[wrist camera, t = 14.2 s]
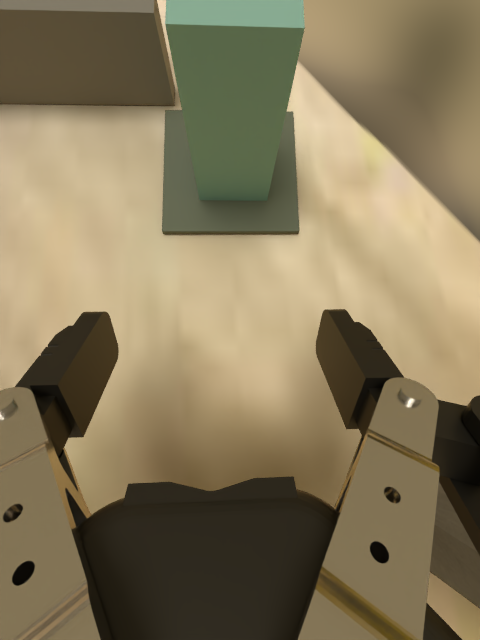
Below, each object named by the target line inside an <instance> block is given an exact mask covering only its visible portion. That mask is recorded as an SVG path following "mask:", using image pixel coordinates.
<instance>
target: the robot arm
mask: <svg viewBox="0 0 480 640" xmlns="http://www.w3.org/2000/svg"><path fill="white" fill-rule="evenodd" d="M316 354H317V358H318V360H319V363H320V365H321V367H322V370H323V372H324V375H325V377H326V380H327V382H328V385H329V387H330V390H331V392H332V395H333V397H334V400H335V402H336V404H337V407H338V409H339V412H340V414H341V417H342V419H343V422H344V424H345V427H346V429H359V430H360V432H361V434H362V436H361V439H360V441H359V444H358V447H357V449H356V452H355V455H354V457H353V460H352V463H351V465H350V468H349V471H348V474H347V476H346V479H345V482H344V484H343V487H342V490H341V492H340V495H339V497H338V500H337V502H336V505H335V507H334V508H333V507H332V506H330V505H329V504H327V503H326V502H324V501H323V500H321V499H319V498H317V497H315V496H313V495H311V494H309V493H306V492H303V491H300V490H296V486H295V481H294V477H274V478H254V479H250V480H247V481H244V482H241V483H238V484H235V485H232V486H229V487H226V488H223V489H220V490H217V491H205V490H201V489H197V488H193V487H189V486H184V485H180V484H176V483H172V482H159V483H135V484H128V487H127V491H126V495H125V498H122V499H120V500H117V501H115V502H113V503H111V504H109V505H107V506H105V507H103V508H102V509H100V510H98V511H97V512H95V513H94V514H93V515H91V513H90V511H89V509H88V507H87V505H86V503H85V500H84V498H83V495H82V493H81V490H80V487H79V485H78V482H77V479H76V476H75V474H74V471H73V468H72V465H71V463H70V460H69V457H68V455H67V452H66V450H65V448H64V446H65V444H66V442H67V440H68V438H71V437H84V434H85V432H86V430H87V428H88V425H89V423H90V421H91V419H92V416H93V414H94V412H95V409H96V407H97V405H98V403H99V400H100V398H101V396H102V394H103V391H104V389H105V387H106V385H107V382H108V380H109V378H110V375H111V373H112V371H113V369H114V366H115V364H116V362H117V359H118V343H117V340H116V337H115V333H114V330H113V326H112V323H111V319H110V316H109V314H108V313H107V312H83V313H82V314H81V316H80V317H79V318H78V320H77V321H76V322H75V324H74V325H73V326H68V327H66V328H65V329H63V330H62V331H61V332H59V333H58V334H56V335H55V336H54V338H53V339H52V340H51V341H50V343H49V344H48V347H46V348H45V349H44V350H43V352H42V353H41V356H39V357H38V358H37V359H36V361H35V362H34V363H33V364H32V366H31V367H30V368H29V370H28V371H27V372H26V373H25V375H24V376H23V377H22V378H21V380H20V381H19V382H18V384H17V385H16V386H15V387H13V388H8V389H4V390H1V391H0V640H462V639H461V638H460V637H459V636H458V635H457V634H456V633H455V632H454V631H453V630H452V629H451V628H450V627H449V625H448V624H447V623H446V622H445V621H444V620H443V619H442V618H441V617H440V616H439V615H438V614H437V613H436V612H435V611H434V610H433V609H432V608H431V607H430V606H429V605H428V604H427V603H426V602H427V592H428V582H429V572H430V562H431V553H432V543H433V533H434V523H435V514H436V504H437V494H438V484H439V482H440V484H441V486H442V488H443V490H444V492H445V493H446V495H447V497H448V499H449V501H450V503H451V504H452V506H453V508H454V510H455V512H456V514H457V515H458V517H459V519H460V521H461V523H462V525H463V526H464V528H465V530H466V532H467V534H468V536H469V537H470V539H471V541H472V543H473V545H474V547H475V548H476V550H477V552H478V554H479V556H480V396H476V397H474V398H473V399H472V400H471V402H470V403H469V404H468V406H463V405H459V404H454V403H450V402H445V401H441V400H437V399H436V397H435V395H434V394H433V393H432V392H431V391H430V390H429V389H428V388H426V387H425V386H423V385H422V384H420V383H418V382H416V381H414V380H411V379H407V378H404V377H403V375H402V374H401V372H400V371H399V370H398V368H397V367H396V365H395V364H394V363H393V361H392V360H391V358H390V357H389V356H388V354H387V353H386V351H385V350H383V347H382V346H381V344H380V343H379V342H377V339H376V337H375V336H374V335H373V333H372V332H371V330H369V329H368V328H367V327H365V326H364V325H362V324H361V323H360V322H354V321H353V319H352V318H351V316H350V315H349V313H348V312H347V311H346V310H345V309H334V310H324V311H323V313H322V317H321V322H320V327H319V331H318V336H317V340H316Z"/></svg>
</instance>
